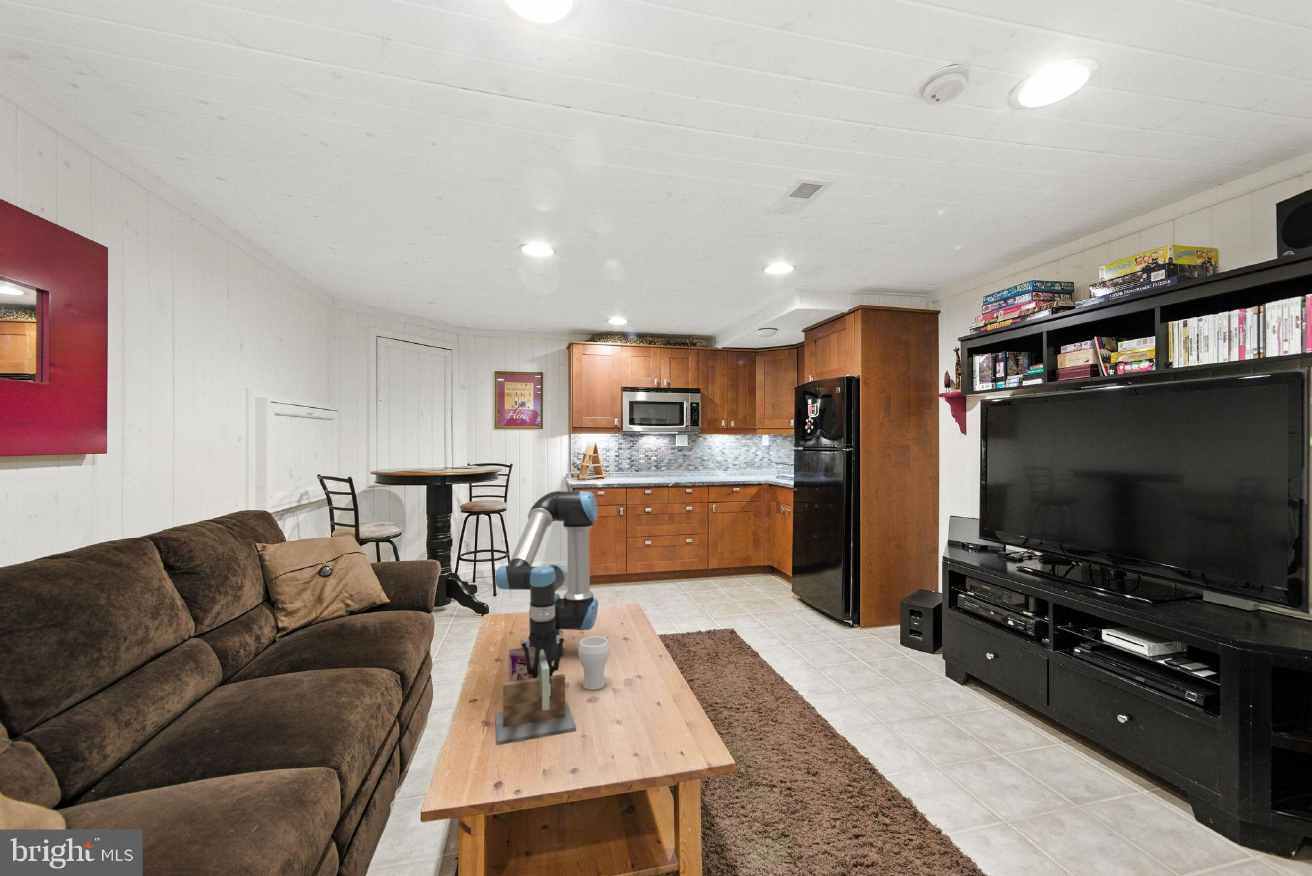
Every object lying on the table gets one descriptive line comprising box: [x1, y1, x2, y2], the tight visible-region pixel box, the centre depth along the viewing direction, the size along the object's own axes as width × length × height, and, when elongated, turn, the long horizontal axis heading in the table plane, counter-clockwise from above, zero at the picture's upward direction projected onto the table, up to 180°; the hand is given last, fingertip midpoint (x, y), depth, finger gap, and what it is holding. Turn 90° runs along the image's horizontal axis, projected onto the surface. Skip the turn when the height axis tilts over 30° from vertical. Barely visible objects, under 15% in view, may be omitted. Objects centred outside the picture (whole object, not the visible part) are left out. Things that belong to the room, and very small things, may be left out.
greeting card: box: [508, 647, 544, 682], centre depth 176 cm, size 11×7×15 cm, turn 70°
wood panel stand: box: [494, 673, 577, 745], centre depth 157 cm, size 22×16×13 cm
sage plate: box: [538, 650, 550, 711], centre depth 162 cm, size 15×2×12 cm, turn 19°
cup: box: [577, 635, 610, 691], centre depth 182 cm, size 11×11×15 cm
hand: (542, 694), depth 163 cm, fingers closed on sage plate, 2 cm apart
